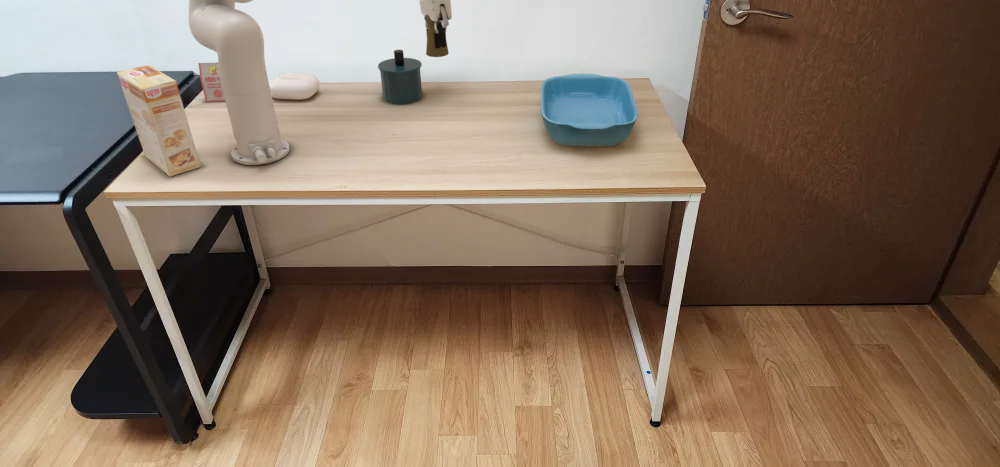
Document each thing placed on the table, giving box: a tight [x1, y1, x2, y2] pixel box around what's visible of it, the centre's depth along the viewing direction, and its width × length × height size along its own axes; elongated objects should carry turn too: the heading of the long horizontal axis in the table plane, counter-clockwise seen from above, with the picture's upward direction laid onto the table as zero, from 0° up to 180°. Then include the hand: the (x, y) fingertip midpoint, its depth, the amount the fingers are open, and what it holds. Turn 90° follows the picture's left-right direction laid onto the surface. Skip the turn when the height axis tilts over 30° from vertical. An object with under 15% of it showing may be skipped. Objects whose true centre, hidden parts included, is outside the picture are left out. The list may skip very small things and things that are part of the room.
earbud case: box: [268, 72, 321, 101], centre depth 174 cm, size 10×13×5 cm
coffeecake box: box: [116, 64, 202, 177], centre depth 137 cm, size 15×7×20 cm, turn 44°
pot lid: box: [377, 49, 422, 74], centre depth 168 cm, size 11×11×5 cm
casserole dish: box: [540, 73, 639, 147], centre depth 156 cm, size 37×22×7 cm, turn 177°
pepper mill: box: [424, 15, 449, 58], centre depth 170 cm, size 6×6×11 cm
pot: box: [379, 68, 423, 105], centre depth 172 cm, size 10×10×8 cm
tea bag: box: [197, 62, 225, 103], centre depth 171 cm, size 4×7×10 cm, turn 95°
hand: (436, 44), depth 172 cm, fingers closed on pepper mill, 4 cm apart
